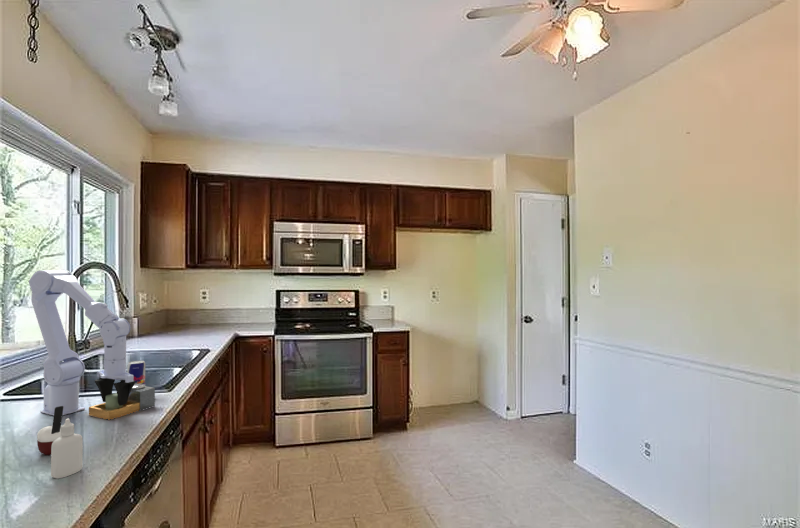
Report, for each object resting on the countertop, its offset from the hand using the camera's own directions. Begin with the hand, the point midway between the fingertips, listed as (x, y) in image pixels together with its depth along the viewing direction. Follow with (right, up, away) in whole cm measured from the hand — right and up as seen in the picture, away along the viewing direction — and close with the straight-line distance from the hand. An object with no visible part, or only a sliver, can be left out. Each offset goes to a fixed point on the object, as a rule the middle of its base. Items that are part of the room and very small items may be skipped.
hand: (114, 402), depth 140 cm
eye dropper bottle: (+15, -4, -40) cm, 43 cm away
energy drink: (-3, -3, +17) cm, 18 cm away
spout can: (0, -3, 0) cm, 3 cm away
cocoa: (+3, -3, -29) cm, 29 cm away
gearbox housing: (+1, -3, +2) cm, 4 cm away
